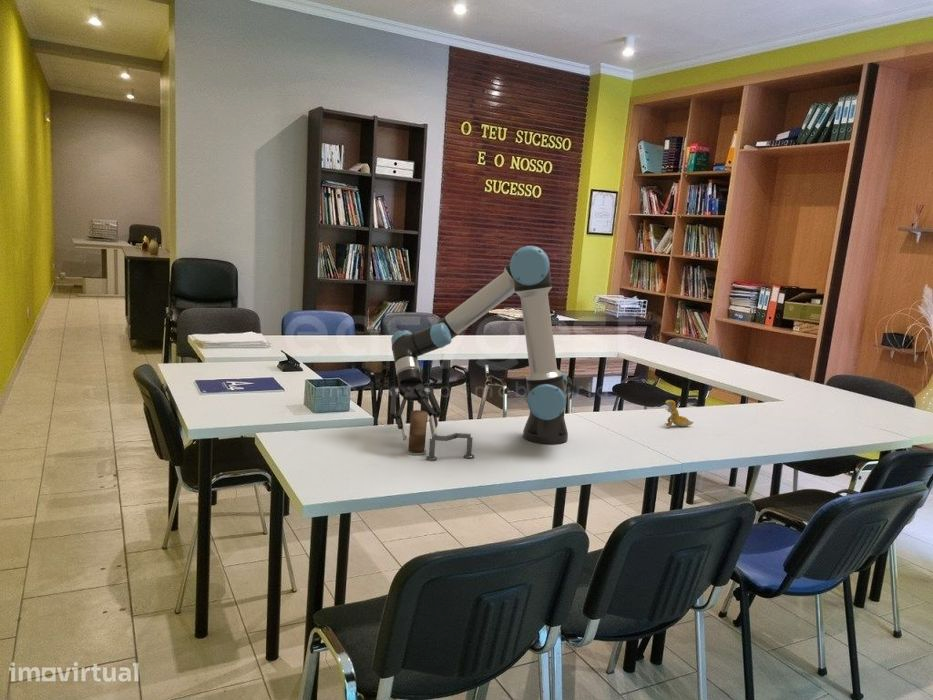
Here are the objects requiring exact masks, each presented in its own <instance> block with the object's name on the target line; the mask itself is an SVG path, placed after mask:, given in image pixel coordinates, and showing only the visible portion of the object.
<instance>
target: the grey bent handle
mask: <svg viewBox="0 0 933 700" xmlns="http://www.w3.org/2000/svg"><path fill="white" fill-rule="evenodd" d="M471 435H472V434H471V433H465V432H464V433H463V432H462V433H461V432H455V433H450V434H447V435H438V434H437V435H432V434H431V438H429V442H428V443H429V445H428V446H429V447H428V448H429V449H428V455H427V456H426V457H425V460H427V461H430V462H434V461H437V460H438V457H437V456H436V455H435V450H436V441H437V442H438V441H439V442H449V441H452V440H453V441H454V440H456V439H466V453H464V454H463V458H464V459H467V460H470V459H471V460H473V459H475V454H473V437H471Z"/></svg>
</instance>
